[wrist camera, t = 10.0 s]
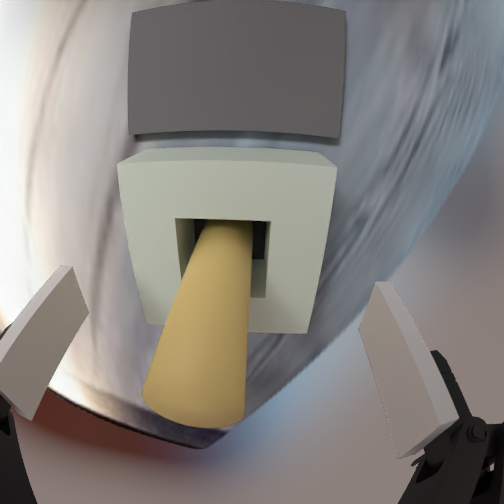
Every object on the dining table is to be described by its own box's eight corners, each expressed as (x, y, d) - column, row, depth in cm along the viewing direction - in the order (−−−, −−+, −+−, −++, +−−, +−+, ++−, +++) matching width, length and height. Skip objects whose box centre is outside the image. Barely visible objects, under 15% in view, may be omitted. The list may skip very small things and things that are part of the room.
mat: (131, 134, 14) (128, 135, 14) (134, 14, 10) (132, 12, 10) (337, 137, 14) (339, 138, 14) (343, 12, 10) (345, 11, 10)
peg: (206, 247, 18) (154, 420, 8) (204, 204, 17) (129, 371, 6) (252, 249, 18) (243, 431, 8) (254, 206, 17) (245, 386, 6)
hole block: (163, 286, 20) (147, 324, 16) (147, 149, 15) (116, 163, 11) (299, 293, 20) (306, 333, 16) (318, 152, 15) (337, 167, 11)
